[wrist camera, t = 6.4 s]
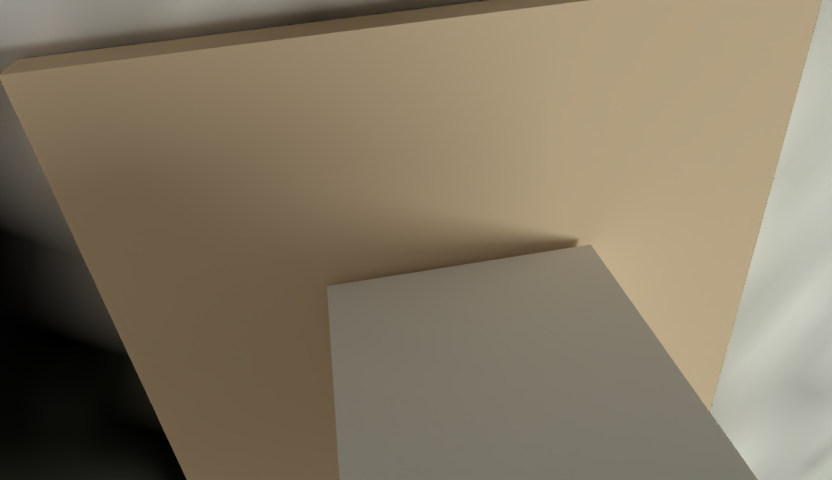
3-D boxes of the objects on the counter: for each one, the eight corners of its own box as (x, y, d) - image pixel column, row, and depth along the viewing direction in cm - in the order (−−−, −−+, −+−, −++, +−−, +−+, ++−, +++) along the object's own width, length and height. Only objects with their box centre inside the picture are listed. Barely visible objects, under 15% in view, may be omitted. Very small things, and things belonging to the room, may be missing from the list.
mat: (798, -39, 8) (829, -30, 8) (667, 496, 15) (680, 519, 14) (17, 58, 7) (-2, 75, 7) (249, 583, 14) (247, 610, 14)
